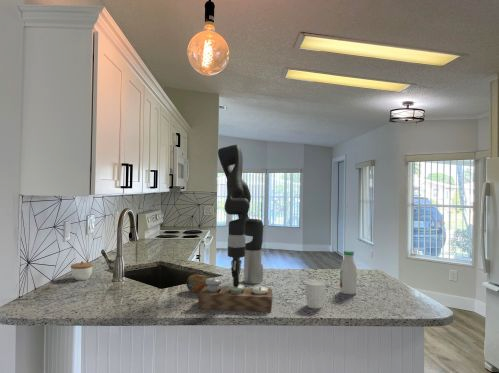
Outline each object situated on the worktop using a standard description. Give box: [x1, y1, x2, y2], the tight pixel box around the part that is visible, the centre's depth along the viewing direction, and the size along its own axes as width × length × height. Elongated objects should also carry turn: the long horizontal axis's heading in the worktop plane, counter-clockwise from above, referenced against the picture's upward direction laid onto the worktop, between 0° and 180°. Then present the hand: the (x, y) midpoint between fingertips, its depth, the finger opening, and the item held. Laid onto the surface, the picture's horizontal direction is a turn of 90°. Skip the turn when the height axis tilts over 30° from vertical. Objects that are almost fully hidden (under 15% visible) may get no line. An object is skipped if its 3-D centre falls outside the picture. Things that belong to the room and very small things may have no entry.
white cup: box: [305, 279, 326, 310], centre depth 156 cm, size 8×8×10 cm
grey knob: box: [206, 277, 222, 293], centre depth 156 cm, size 7×7×5 cm
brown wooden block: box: [197, 286, 273, 313], centre depth 155 cm, size 30×12×6 cm, turn 85°
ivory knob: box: [251, 286, 269, 295], centre depth 154 cm, size 7×7×5 cm
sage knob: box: [228, 283, 245, 294], centre depth 155 cm, size 7×7×5 cm
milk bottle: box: [339, 249, 358, 296], centre depth 176 cm, size 8×8×20 cm
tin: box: [186, 273, 213, 294], centre depth 173 cm, size 15×3×8 cm, turn 62°
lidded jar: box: [70, 260, 94, 281], centre depth 196 cm, size 11×11×9 cm
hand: (236, 285), depth 155 cm, fingers closed
